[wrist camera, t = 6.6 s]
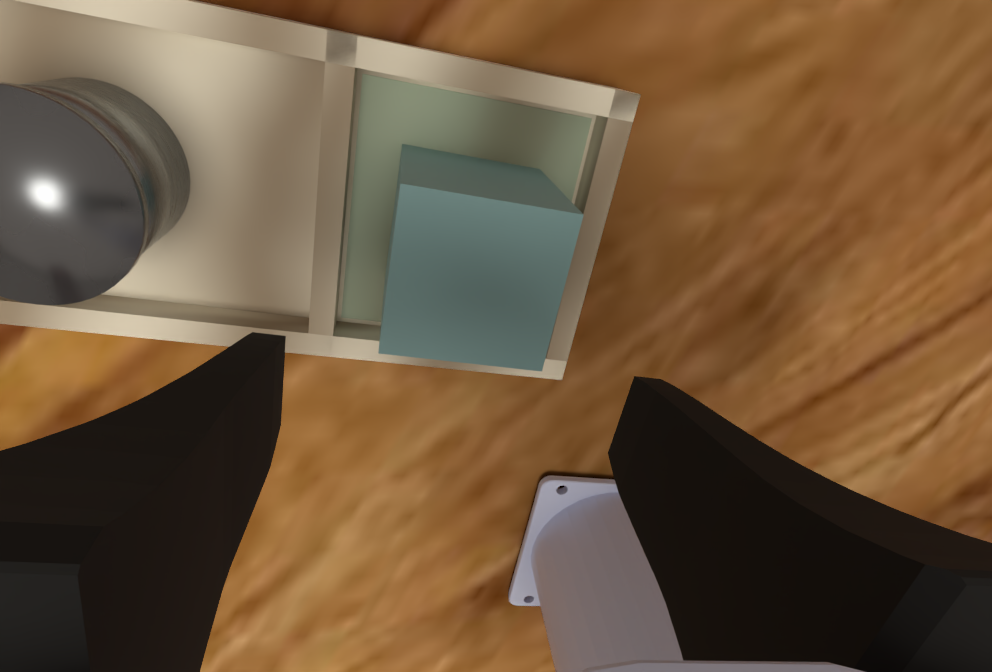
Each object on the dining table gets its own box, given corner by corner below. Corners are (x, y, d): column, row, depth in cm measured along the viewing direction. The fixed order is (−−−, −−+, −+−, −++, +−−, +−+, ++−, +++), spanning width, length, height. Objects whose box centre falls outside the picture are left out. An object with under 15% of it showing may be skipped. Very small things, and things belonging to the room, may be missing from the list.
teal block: (539, 168, 20) (584, 214, 15) (511, 294, 21) (541, 371, 17) (402, 143, 19) (400, 183, 14) (385, 277, 21) (378, 353, 16)
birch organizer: (617, 88, 20) (640, 94, 18) (549, 351, 24) (561, 380, 22) (-88, -59, 16) (-159, -72, 14) (-21, 289, 20) (-67, 316, 18)
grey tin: (193, 90, 17) (135, 107, 14) (197, 262, 20) (148, 316, 16) (-17, 53, 16) (-141, 60, 13) (14, 239, 19) (-85, 291, 15)
